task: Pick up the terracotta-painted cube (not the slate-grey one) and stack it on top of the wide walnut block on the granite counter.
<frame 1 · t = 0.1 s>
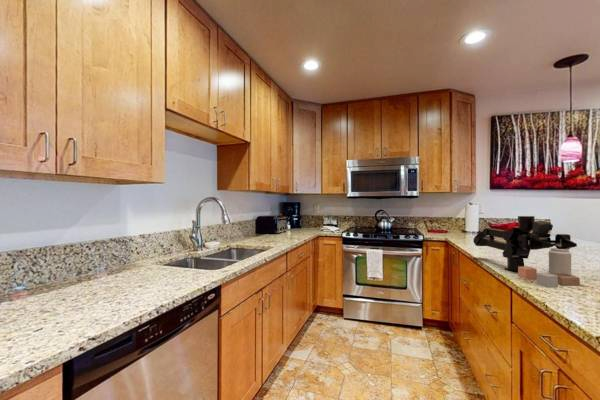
hand: (564, 245, 109), 17 cm above the worktop, tool horizontal, fingers open, 9 cm apart
slate cube: (547, 285, 111), on the worktop
can: (559, 275, 126), on the worktop
terracotta cube: (527, 278, 122), on the worktop
walnut base: (562, 283, 114), on the worktop
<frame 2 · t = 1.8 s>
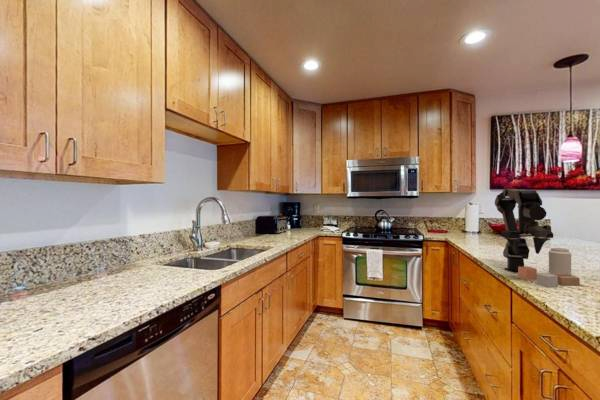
hand: (526, 253, 122), 11 cm above the worktop, tool pointing down, fingers open, 9 cm apart
nothing on the worktop moved.
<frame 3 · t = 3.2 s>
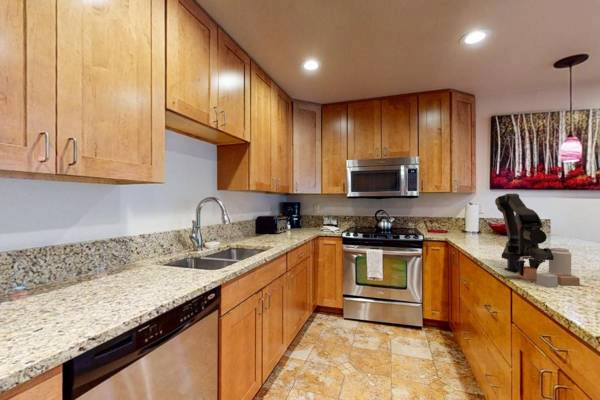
hand: (527, 275, 122), 1 cm above the worktop, tool pointing down, fingers closed on terracotta cube, 4 cm apart
terracotta cube: (527, 277, 122), on the worktop, touching gripper
everything else where it was.
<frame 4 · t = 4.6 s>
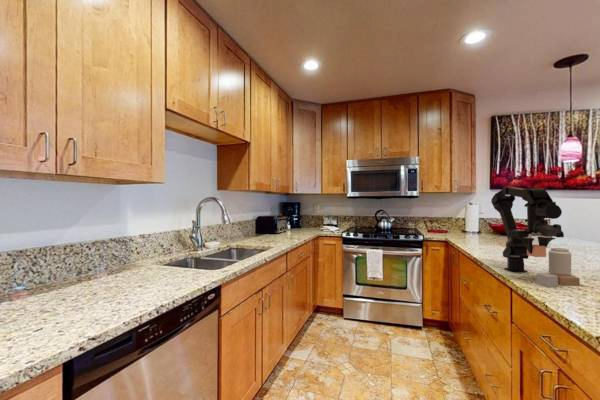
hand: (536, 253, 120), 11 cm above the worktop, tool pointing down, fingers closed on terracotta cube, 4 cm apart
terracotta cube: (536, 255, 120), point 10 cm above the worktop, touching gripper
everything else where it was.
when the fingers open (6 cm above the worktop, at t = 6.3 s): terracotta cube drops 2 cm, point 3 cm above the worktop.
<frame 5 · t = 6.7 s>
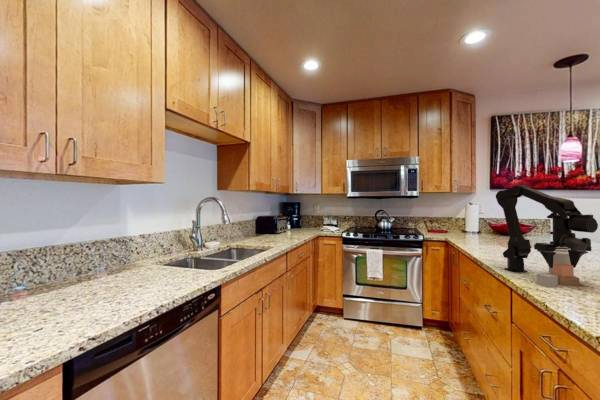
hand: (562, 267, 114), 6 cm above the worktop, tool pointing down, fingers open, 9 cm apart
terracotta cube: (562, 275, 114), point 3 cm above the worktop
everything else where it was.
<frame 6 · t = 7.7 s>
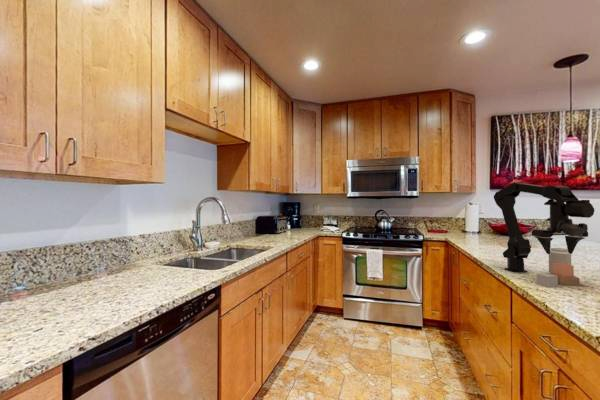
hand: (559, 253, 115), 12 cm above the worktop, tool pointing down, fingers open, 9 cm apart
nothing on the worktop moved.
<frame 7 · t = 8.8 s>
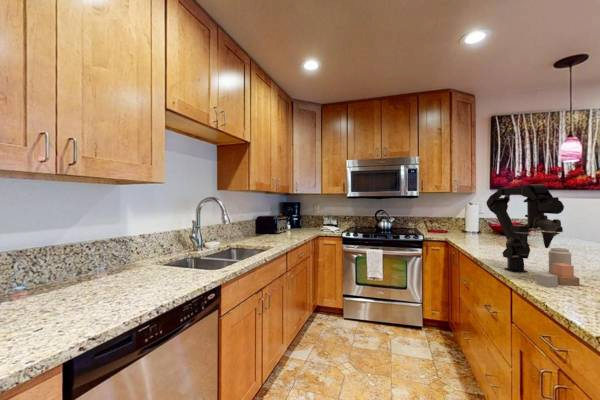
hand: (536, 248, 122), 13 cm above the worktop, tool pointing down, fingers open, 9 cm apart
terracotta cube: (562, 275, 114), point 3 cm above the worktop, touching walnut base
walnut base: (562, 283, 114), on the worktop, touching terracotta cube
everything else where it was.
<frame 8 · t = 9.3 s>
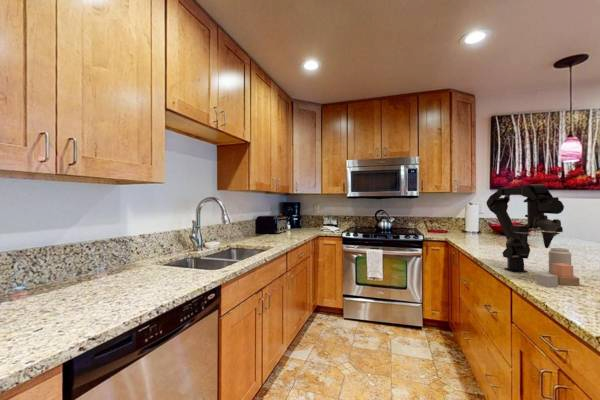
hand: (536, 248, 122), 13 cm above the worktop, tool pointing down, fingers open, 9 cm apart
nothing on the worktop moved.
at the end: terracotta cube 0.1 cm off-centre on the walnut base, point 3.5 cm above the walnut base's base; terracotta cube touching walnut base; the gripper is holding nothing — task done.
